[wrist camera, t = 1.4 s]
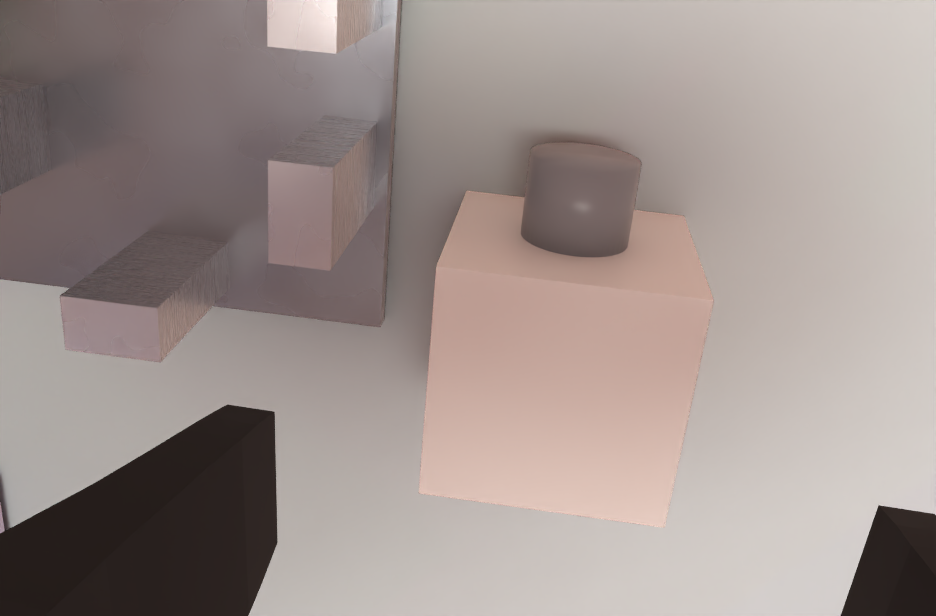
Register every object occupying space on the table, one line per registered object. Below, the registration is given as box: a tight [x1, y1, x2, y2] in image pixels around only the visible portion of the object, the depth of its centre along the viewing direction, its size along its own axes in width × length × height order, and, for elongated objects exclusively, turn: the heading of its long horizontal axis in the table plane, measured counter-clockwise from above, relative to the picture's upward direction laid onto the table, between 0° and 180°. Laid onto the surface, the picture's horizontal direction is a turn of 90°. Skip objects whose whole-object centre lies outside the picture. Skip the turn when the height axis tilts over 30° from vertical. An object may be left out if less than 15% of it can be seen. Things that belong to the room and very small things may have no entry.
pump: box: [419, 142, 714, 528], centre depth 19 cm, size 7×5×5 cm
